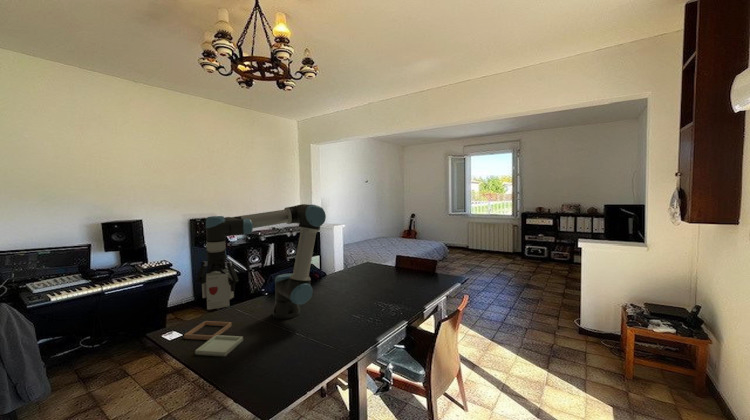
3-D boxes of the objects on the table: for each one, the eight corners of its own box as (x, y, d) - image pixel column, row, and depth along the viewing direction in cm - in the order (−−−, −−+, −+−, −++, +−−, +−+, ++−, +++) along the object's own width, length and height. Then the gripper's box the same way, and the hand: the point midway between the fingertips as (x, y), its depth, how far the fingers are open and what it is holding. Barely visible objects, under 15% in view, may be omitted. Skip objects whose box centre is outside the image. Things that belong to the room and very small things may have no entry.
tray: (243, 340, 143) (242, 336, 143) (225, 356, 129) (225, 352, 129) (215, 338, 145) (215, 335, 145) (195, 354, 131) (195, 350, 131)
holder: (231, 326, 158) (231, 322, 158) (212, 340, 144) (212, 336, 143) (205, 324, 160) (205, 320, 160) (184, 338, 145) (184, 334, 145)
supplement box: (206, 310, 130) (205, 276, 129) (207, 303, 138) (206, 271, 137) (229, 306, 134) (228, 273, 133) (229, 300, 142) (228, 269, 141)
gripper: (246, 249, 136) (247, 295, 138) (197, 248, 139) (199, 293, 141) (236, 252, 129) (238, 301, 130) (185, 251, 132) (187, 299, 133)
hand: (218, 297), depth 136 cm, fingers closed on supplement box, 12 cm apart
